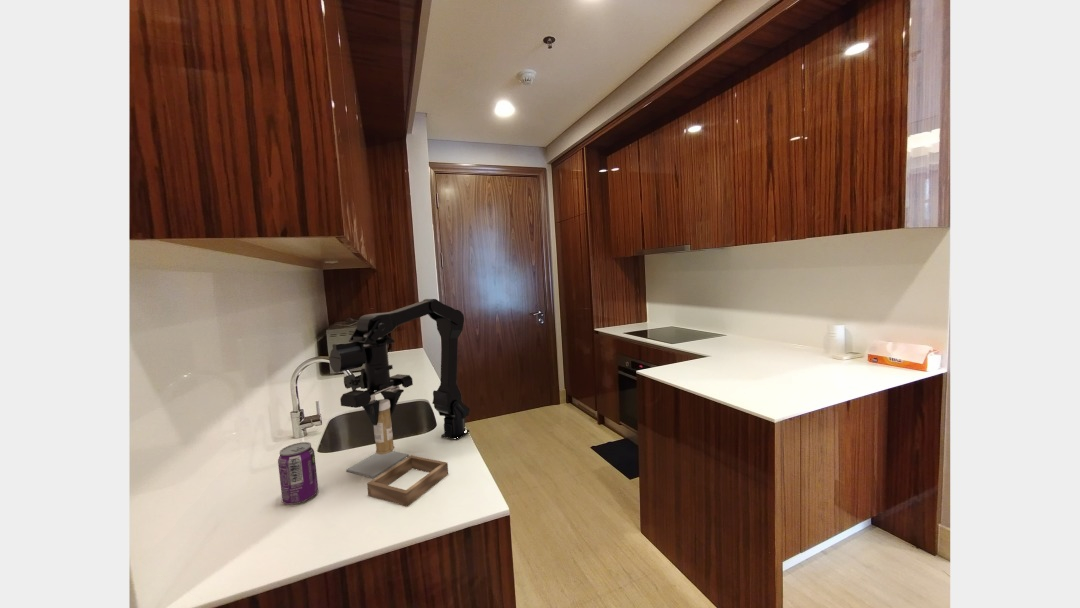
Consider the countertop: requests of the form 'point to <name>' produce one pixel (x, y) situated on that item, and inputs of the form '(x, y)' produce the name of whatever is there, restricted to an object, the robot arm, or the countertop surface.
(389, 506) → the countertop surface
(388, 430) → the sprinkles bottle
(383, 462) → the mat
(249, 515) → the countertop surface
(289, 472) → the beverage can
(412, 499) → the wooden frame
